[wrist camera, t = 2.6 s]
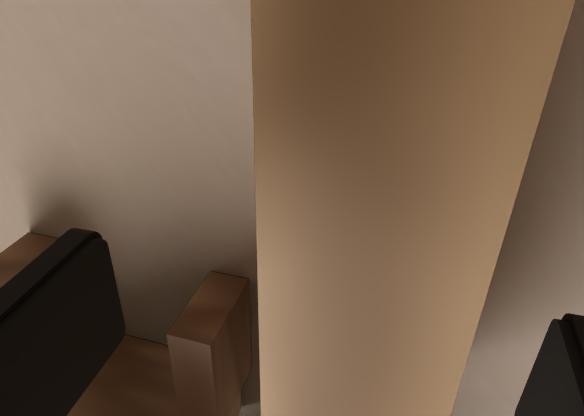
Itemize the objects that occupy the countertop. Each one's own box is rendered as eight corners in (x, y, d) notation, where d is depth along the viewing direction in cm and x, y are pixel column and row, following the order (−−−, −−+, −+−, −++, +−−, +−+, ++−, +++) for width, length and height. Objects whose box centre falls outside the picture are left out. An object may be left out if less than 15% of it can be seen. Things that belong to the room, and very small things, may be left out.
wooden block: (542, -76, 11) (608, -66, 6) (434, 359, 18) (423, 525, 13) (331, -82, 12) (238, -76, 7) (309, 330, 19) (257, 473, 14)
